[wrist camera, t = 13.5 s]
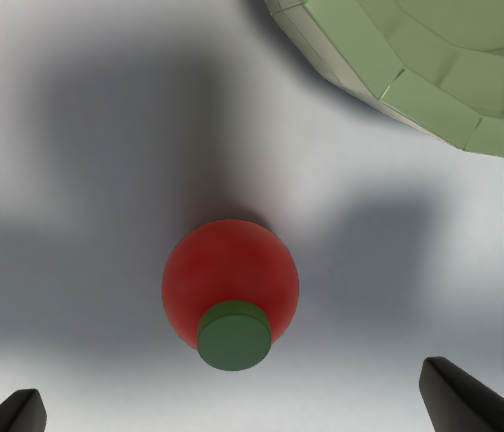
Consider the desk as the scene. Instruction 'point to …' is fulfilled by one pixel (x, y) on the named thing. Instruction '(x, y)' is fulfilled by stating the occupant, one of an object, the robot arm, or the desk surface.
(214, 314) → the red toy tomato
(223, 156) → the desk surface
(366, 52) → the bowl
